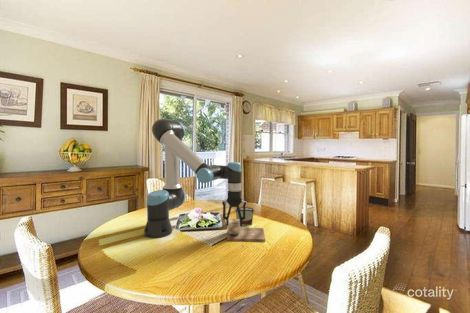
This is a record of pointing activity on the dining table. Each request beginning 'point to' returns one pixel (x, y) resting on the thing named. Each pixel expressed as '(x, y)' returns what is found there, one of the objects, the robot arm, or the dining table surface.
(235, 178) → the robot arm
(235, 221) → the sanding block
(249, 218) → the food container
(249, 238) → the board
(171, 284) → the dining table surface
